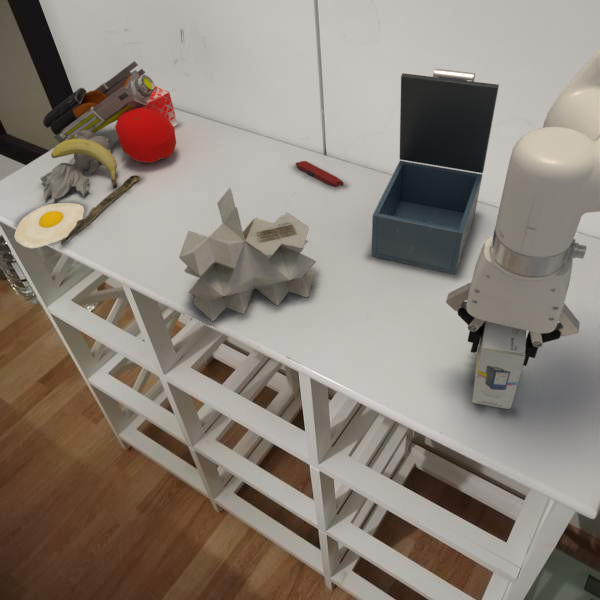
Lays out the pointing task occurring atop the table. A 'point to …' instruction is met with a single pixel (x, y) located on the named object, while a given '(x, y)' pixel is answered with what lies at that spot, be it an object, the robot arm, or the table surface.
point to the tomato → (145, 135)
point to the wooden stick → (101, 207)
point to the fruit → (87, 153)
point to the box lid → (446, 119)
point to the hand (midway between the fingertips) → (500, 349)
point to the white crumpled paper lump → (247, 261)
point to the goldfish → (73, 170)
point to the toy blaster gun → (100, 104)
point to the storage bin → (425, 216)
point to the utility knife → (319, 173)
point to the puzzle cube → (161, 104)
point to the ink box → (498, 364)
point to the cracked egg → (48, 224)
